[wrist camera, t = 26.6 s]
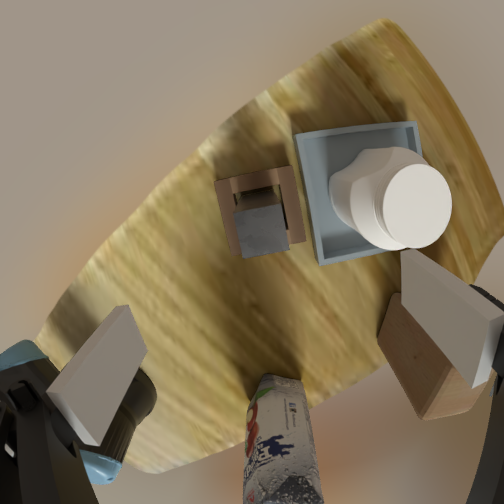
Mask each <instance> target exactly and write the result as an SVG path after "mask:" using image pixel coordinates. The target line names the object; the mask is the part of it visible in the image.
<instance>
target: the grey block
mask: <svg viewBox="0 0 504 504" xmlns="http://www.w3.org/2000/svg"><path fill="white" fill-rule="evenodd" d="M233 216H234V221H235V225H236V229H237V234H238V238H239V243H240V247H241V251H242V256H243V259H245V258H250V257H255V256H261V255H266V254H271V253H276V252H281V251H287V250H290V249H289V244H288V238H287V233H286V227H285V222H284V217H283V211H282V206H281V203H280V201H279V199H278V197H277V195H276V194H275V192H274V190H267V191H262V192H257V193H252V194H247V195H243V196H241V197H240V199H239V202H238V204H237V206H236V208H235V210H234V212H233Z"/></svg>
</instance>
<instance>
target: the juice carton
mask: <svg viewBox="0 0 504 504" xmlns="http://www.w3.org/2000/svg"><path fill="white" fill-rule="evenodd" d="M243 504H324V500H323V496H322V491H321V484H320V477H319V470H318V464H317V457H316V451H315V445H314V439H313V433H312V427H311V421H310V416H309V410H308V404H307V399H306V395H305V391H304V387H303V383H302V382H301V381H299V380H295V379H289V378H284V377H280V376H276V375H272V374H267V373H266V374H264V376H263V377H262V379H261V382H260V384H259V386H258V389H257V391H256V393H255V395H254V396H253V398H252V400H251V402H250V404H249V407H248V410H247V419H246V438H245V462H244V481H243Z"/></svg>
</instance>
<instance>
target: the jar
mask: <svg viewBox="0 0 504 504" xmlns="http://www.w3.org/2000/svg"><path fill="white" fill-rule="evenodd" d="M329 198H330V202H331V205H332V208H333V210H334V211H335V213H336V214H337V216H338V217H339V218H340V219H341V220H342V221H343V222H344V223H345V224H347V225H348V226H350V227H351V228H353V229H355V230H356V231H357V232H359V233H360V234H361V235H362V236H363V237H364V238H365V239H366V240H368V241H369V242H370V243H372V244H373V245H375V246H377V247H379V248H382V249H386V250H400V249H404V248H407V247H409V248H422V247H425V246H428V245H430V244H431V243H433V242H434V241H436V240H437V239H438V238H439V237H440V236H441V235H442V233H443V232H444V230H445V228H446V227H447V224H448V222H449V219H450V215H451V209H452V199H451V193H450V190H449V187H448V184H447V182H446V180H445V179H444V177H443V176H442V175H441V174H440V173H439V172H438V171H437V170H436V169H434V168H433V167H431V166H429V164H428V163H427V162H426V161H425V160H424V159H423V158H422V157H421V156H420V155H419V154H417V153H415V152H414V151H412V150H409V149H407V148H403V147H390V148H378V149H363V150H362V151H361V152H360V153H359V154H358V156H357V157H356V158H355V160H354V161H353V162H352V163H351V164H350V165H348V166H347V167H346V168H344V169H342V170H340V171H338V172H335V173H334V174H333V175H332V176H331V177H330V180H329Z"/></svg>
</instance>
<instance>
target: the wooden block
mask: <svg viewBox="0 0 504 504" xmlns="http://www.w3.org/2000/svg"><path fill="white" fill-rule="evenodd" d="M401 296H402V293H393V295H392V296H391V299H390V302H389V306H388V309H387V312H386V315H385V318H384V321H383V324H382V327H381V330H380V333H379V335H378V339H377V342H378V345H379V347H380V349H381V350H382V352H383V354H384V355H385V357H386V359H387V361H388V362H389V364H390V366H391V368H392V369H393V371H394V373H395V375H396V377H397V378H398V380H399V382H400V384H401V386H402V387H403V389H404V391H405V393H406V395H407V397H408V398H409V400H410V402H411V404H412V406H413V408H414V410H415V412H416V414H417V415H418V417H419V418H420V419H421V420H430V419H436V418H441V417H446V416H450V415H455V414H459V413H464V412H467V411H468V410H470V409H471V408H472V406H473V405H474V403H475V402H476V400H477V398H478V397H479V395H480V394H481V392H482V391H483V389H484V387H485V385H486V384H487V382H488V381H486V382H484V383H482V384H480V385H478V386H476V387H474V388H472V389H471V387H470V386H469V385H468V383H467V382H466V381H465V380H464V378H463V377H462V376H461V374H460V373H459V372H458V371H457V369H456V368H455V367H454V365H453V364H452V363H451V362H450V360H449V359H448V358H447V357H446V355H445V354H444V353H443V352H442V351H441V349H440V348H439V347H438V346H437V344H436V343H435V342H434V341H433V340H432V339H431V337H430V336H429V335H428V334H427V333H426V331H425V330H424V329H423V328H422V327H421V326H420V324H419V323H418V322H417V321H416V320H415V319H414V317H413V316H412V315H411V314H410V313H409V312H408V311H407V310H406V308H405V307H404V306H403V305H402V304H401ZM493 371H494V369H493V368H492V369H491V372H490V375H489V378H488V380H489V379H490V377H491V375H492V373H493Z"/></svg>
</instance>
